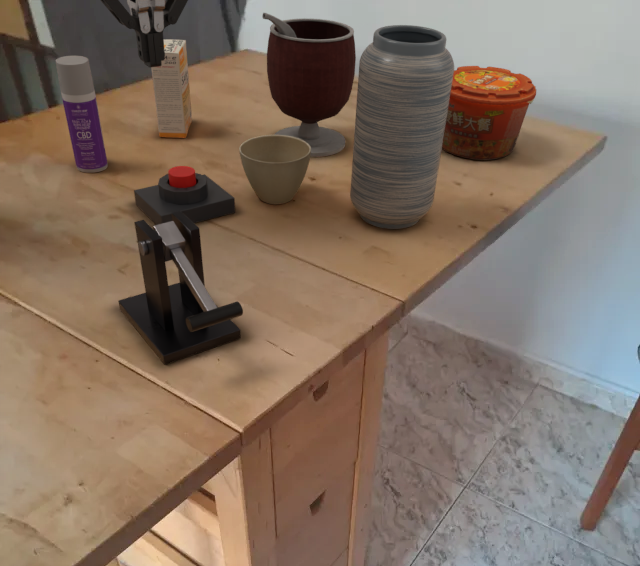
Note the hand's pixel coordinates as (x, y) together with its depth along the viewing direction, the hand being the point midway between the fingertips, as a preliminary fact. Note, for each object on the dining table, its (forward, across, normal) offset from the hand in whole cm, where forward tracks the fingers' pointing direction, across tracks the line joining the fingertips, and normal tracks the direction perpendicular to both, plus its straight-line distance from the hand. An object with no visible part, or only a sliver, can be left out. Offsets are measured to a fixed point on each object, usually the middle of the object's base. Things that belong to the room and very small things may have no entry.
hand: (152, 65), depth 84 cm
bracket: (+19, +11, +26) cm, 34 cm away
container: (+19, +4, -19) cm, 27 cm away
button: (+15, -2, +1) cm, 15 cm away
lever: (+11, +11, +30) cm, 34 cm away
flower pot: (+18, -15, +4) cm, 24 cm away
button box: (+18, -2, +1) cm, 19 cm away
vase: (+18, -26, +17) cm, 36 cm away
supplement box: (+19, -14, -27) cm, 36 cm away
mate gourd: (+18, -30, -11) cm, 37 cm away
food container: (+18, -55, +4) cm, 58 cm away
